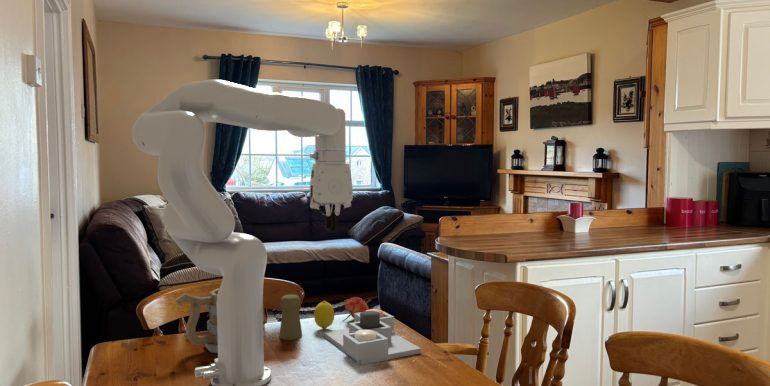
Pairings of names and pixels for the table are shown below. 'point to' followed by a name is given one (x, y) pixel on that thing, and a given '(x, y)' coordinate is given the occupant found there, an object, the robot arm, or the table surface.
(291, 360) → the table surface
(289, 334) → the olive green shaker
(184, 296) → the tankard
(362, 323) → the black button
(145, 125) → the robot arm
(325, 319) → the lemon
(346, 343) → the grey stepped holder base
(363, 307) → the red flower
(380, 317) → the terracotta button
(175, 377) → the table surface
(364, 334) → the cream button
